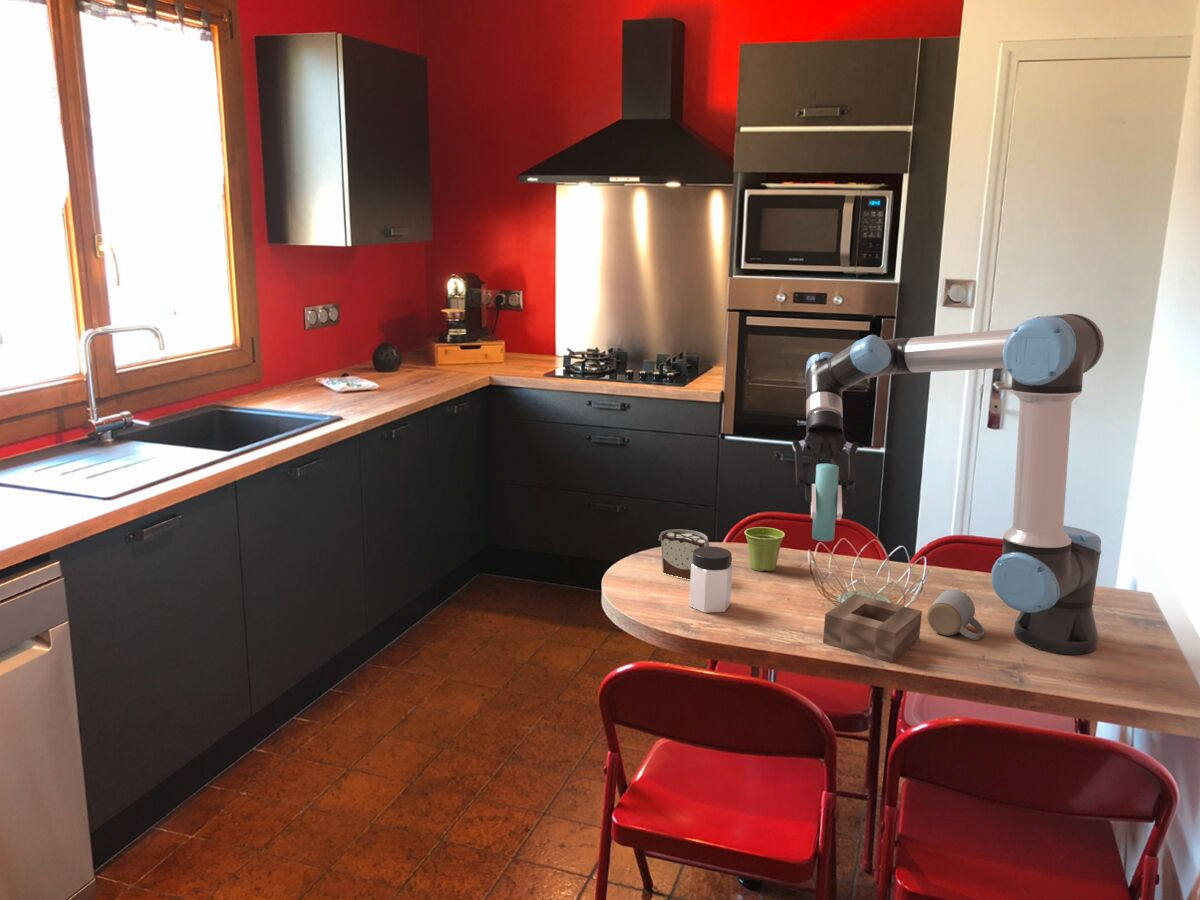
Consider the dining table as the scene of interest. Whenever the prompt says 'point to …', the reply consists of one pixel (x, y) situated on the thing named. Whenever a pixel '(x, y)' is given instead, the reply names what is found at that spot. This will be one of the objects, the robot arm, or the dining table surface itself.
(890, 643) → the hole block
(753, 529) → the plant pot
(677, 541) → the food container
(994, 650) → the dining table surface
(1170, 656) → the dining table surface
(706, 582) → the jar
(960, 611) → the ceramic mug
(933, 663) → the dining table surface
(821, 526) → the pin
